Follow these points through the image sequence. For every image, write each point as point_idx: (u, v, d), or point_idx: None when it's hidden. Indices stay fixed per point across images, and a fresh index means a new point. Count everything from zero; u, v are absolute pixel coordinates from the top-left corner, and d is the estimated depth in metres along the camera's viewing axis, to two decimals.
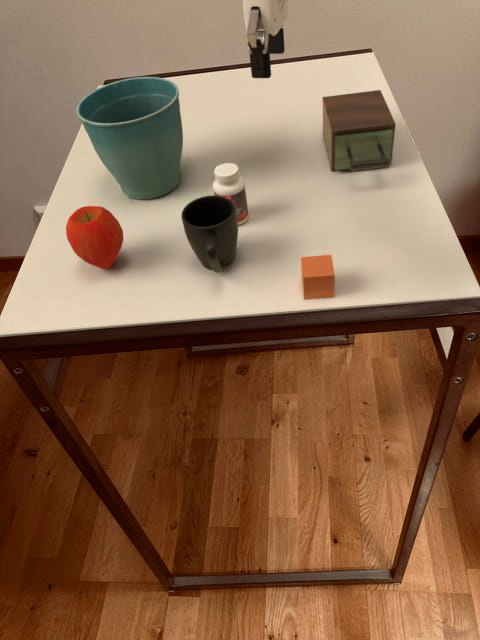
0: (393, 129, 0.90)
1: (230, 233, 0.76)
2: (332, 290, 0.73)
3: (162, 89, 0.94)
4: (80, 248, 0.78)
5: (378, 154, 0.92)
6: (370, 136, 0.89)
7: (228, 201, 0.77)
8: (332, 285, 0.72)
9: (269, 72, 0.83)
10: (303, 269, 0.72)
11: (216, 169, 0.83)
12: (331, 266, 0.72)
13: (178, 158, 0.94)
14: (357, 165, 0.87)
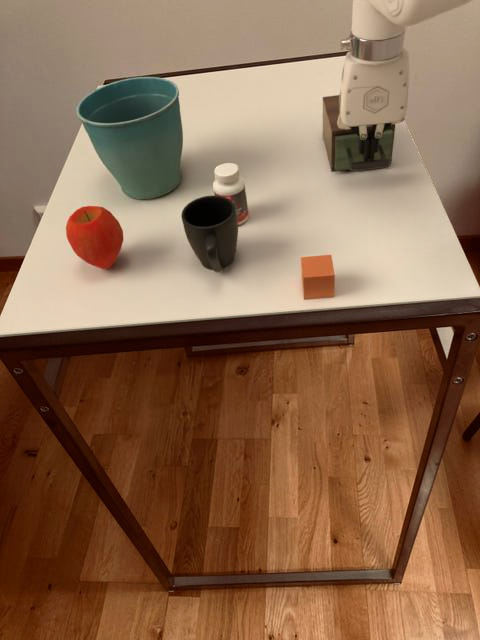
0: (393, 129, 0.90)
1: (230, 233, 0.76)
2: (332, 290, 0.73)
3: (162, 89, 0.94)
4: (80, 248, 0.78)
5: (378, 154, 0.92)
6: None
7: (228, 201, 0.77)
8: (332, 285, 0.72)
9: (364, 156, 0.86)
10: (303, 269, 0.72)
11: (216, 169, 0.83)
12: (331, 266, 0.72)
13: (178, 158, 0.94)
14: (357, 165, 0.87)
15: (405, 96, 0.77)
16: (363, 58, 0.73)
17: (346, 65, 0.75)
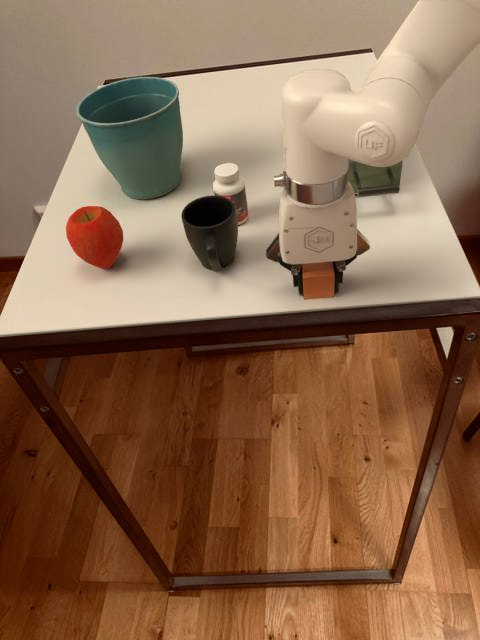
0: None
1: (230, 233, 0.76)
2: (332, 290, 0.73)
3: (162, 89, 0.94)
4: (80, 248, 0.78)
5: (387, 178, 0.87)
6: None
7: (228, 201, 0.77)
8: (332, 285, 0.72)
9: (299, 291, 0.74)
10: (303, 269, 0.72)
11: (216, 169, 0.83)
12: (331, 266, 0.72)
13: (178, 158, 0.94)
14: (365, 191, 0.81)
15: (353, 236, 0.65)
16: (299, 200, 0.61)
17: (281, 204, 0.63)
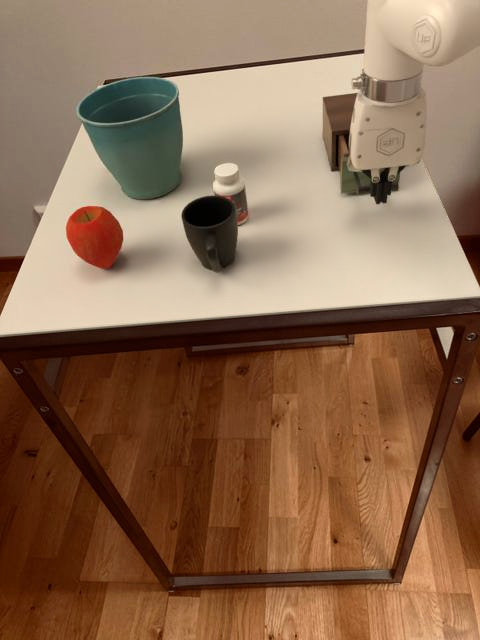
0: None
1: (230, 233, 0.76)
2: None
3: (162, 89, 0.94)
4: (80, 248, 0.78)
5: None
6: None
7: (228, 201, 0.77)
8: None
9: (377, 199, 0.79)
10: None
11: (216, 169, 0.83)
12: None
13: (178, 158, 0.94)
14: (365, 189, 0.82)
15: (422, 138, 0.71)
16: (377, 99, 0.66)
17: (357, 106, 0.68)
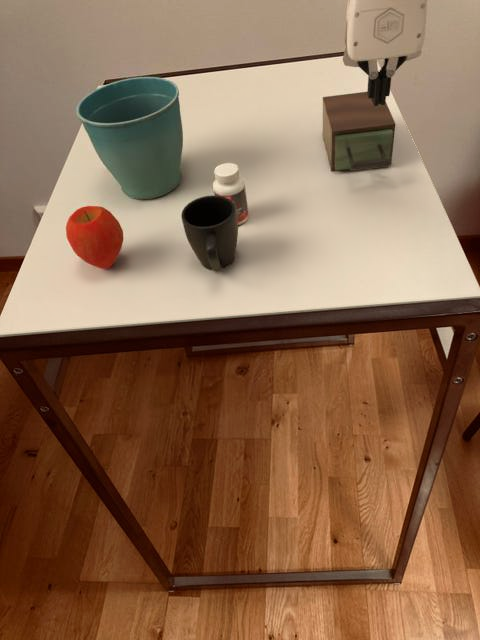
0: (393, 129, 0.90)
1: (230, 233, 0.76)
2: None
3: (162, 89, 0.94)
4: (80, 248, 0.78)
5: (378, 154, 0.92)
6: (370, 136, 0.89)
7: (228, 201, 0.77)
8: None
9: (375, 100, 0.75)
10: None
11: (216, 169, 0.83)
12: None
13: (178, 158, 0.94)
14: (357, 165, 0.87)
15: (423, 21, 0.66)
16: None
17: None
